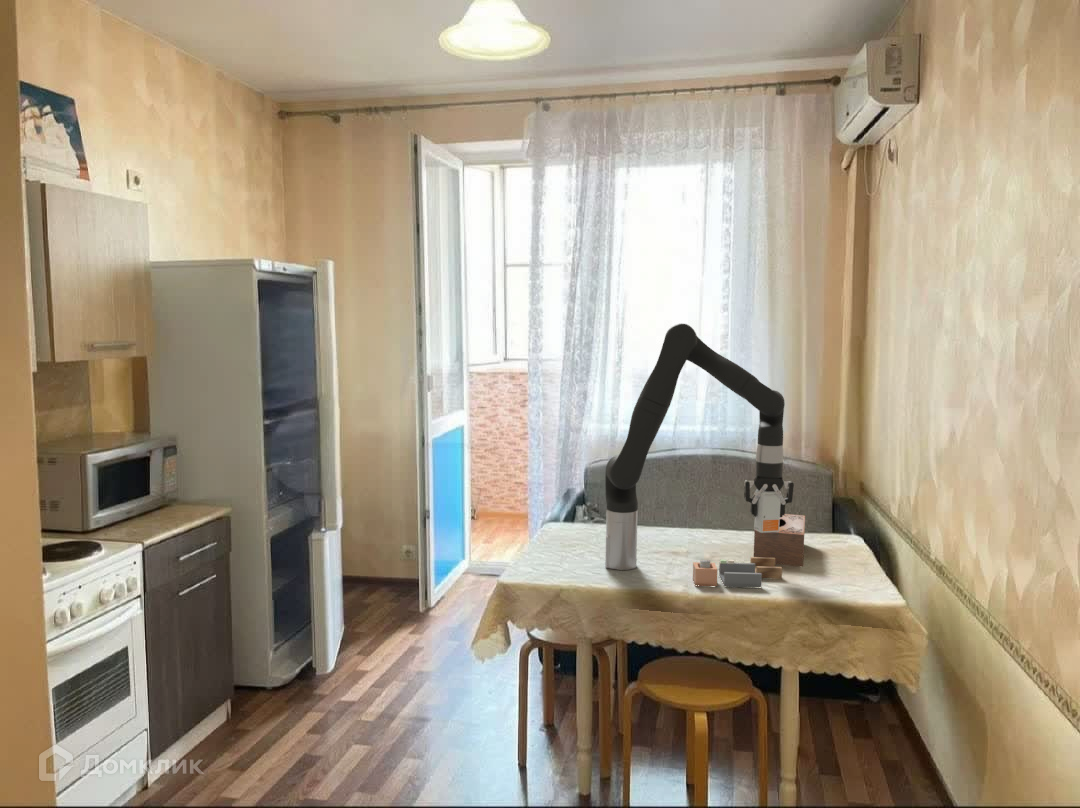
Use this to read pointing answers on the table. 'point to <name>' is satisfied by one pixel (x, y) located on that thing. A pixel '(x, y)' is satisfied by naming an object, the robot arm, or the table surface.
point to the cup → (705, 573)
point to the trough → (767, 567)
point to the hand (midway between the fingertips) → (767, 516)
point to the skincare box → (767, 512)
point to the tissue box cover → (783, 541)
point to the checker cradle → (739, 574)
